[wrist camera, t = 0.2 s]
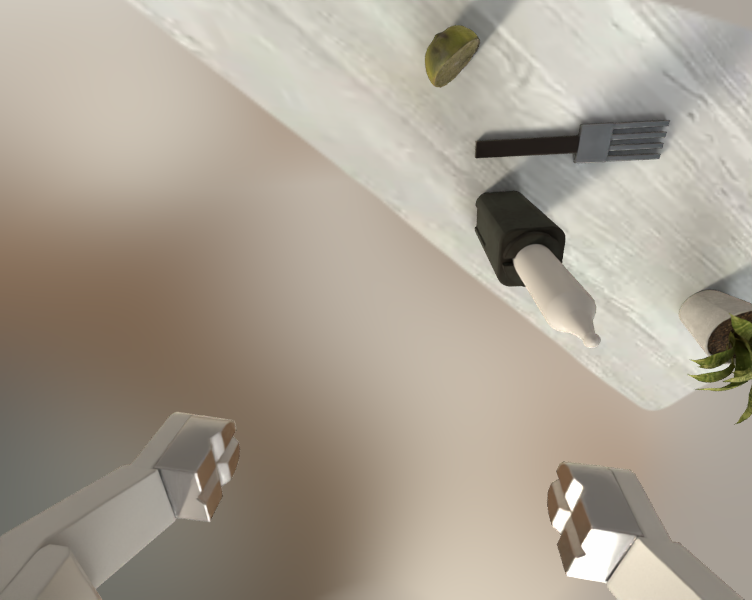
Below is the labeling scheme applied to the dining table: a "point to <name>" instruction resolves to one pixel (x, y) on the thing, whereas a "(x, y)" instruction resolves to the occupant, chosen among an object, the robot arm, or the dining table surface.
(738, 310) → the house plant
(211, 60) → the dining table surface
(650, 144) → the fork
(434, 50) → the lime
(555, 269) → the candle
